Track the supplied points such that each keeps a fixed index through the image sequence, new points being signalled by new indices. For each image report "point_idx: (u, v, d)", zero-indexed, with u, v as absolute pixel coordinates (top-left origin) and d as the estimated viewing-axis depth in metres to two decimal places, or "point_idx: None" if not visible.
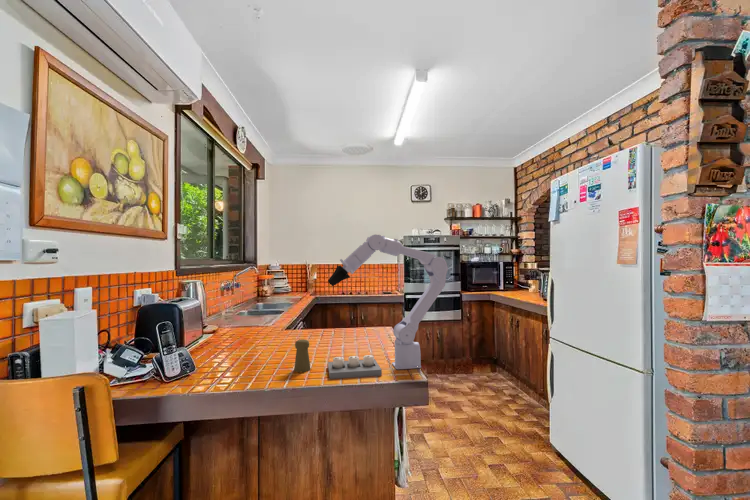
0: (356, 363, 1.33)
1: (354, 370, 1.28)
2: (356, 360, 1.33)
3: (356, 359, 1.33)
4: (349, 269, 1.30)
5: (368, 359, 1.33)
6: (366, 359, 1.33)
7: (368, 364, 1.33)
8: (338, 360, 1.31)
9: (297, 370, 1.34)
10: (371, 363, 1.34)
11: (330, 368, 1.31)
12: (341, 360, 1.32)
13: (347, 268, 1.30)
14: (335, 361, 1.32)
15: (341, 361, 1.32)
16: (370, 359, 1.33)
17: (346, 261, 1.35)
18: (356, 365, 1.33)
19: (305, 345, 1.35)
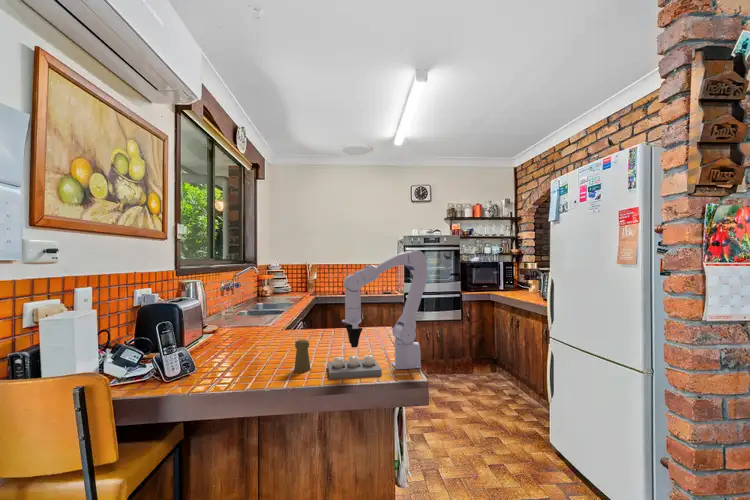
0: (356, 363, 1.33)
1: (354, 370, 1.28)
2: (356, 360, 1.33)
3: (356, 359, 1.33)
4: (356, 325, 1.28)
5: (368, 359, 1.33)
6: (366, 359, 1.33)
7: (368, 364, 1.33)
8: (338, 360, 1.31)
9: (297, 370, 1.34)
10: (371, 363, 1.34)
11: (330, 368, 1.31)
12: (341, 360, 1.32)
13: (354, 326, 1.27)
14: (335, 361, 1.32)
15: (341, 361, 1.32)
16: (370, 359, 1.33)
17: (348, 319, 1.32)
18: (356, 365, 1.33)
19: (305, 345, 1.35)
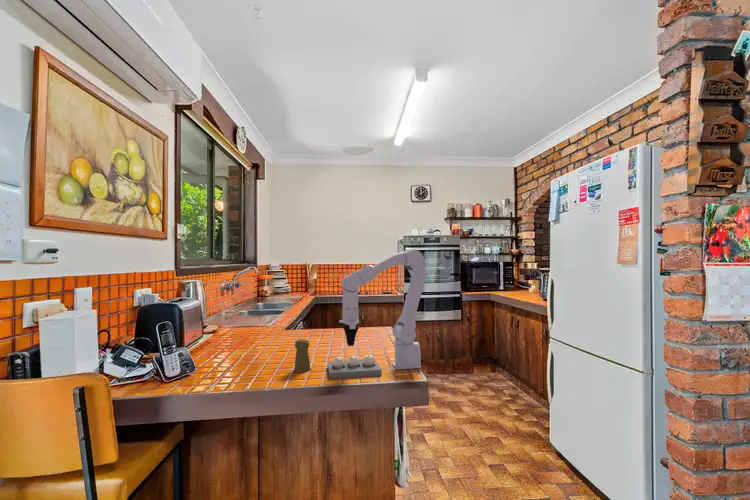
0: (356, 363, 1.33)
1: (354, 370, 1.28)
2: (356, 360, 1.33)
3: (356, 359, 1.33)
4: (353, 325, 1.27)
5: (368, 359, 1.33)
6: (366, 359, 1.33)
7: (368, 364, 1.33)
8: (338, 360, 1.31)
9: (297, 370, 1.34)
10: (371, 363, 1.34)
11: (330, 368, 1.31)
12: (341, 360, 1.32)
13: (351, 326, 1.27)
14: (335, 361, 1.32)
15: (341, 361, 1.32)
16: (370, 359, 1.33)
17: (345, 319, 1.32)
18: (356, 365, 1.33)
19: (305, 345, 1.35)
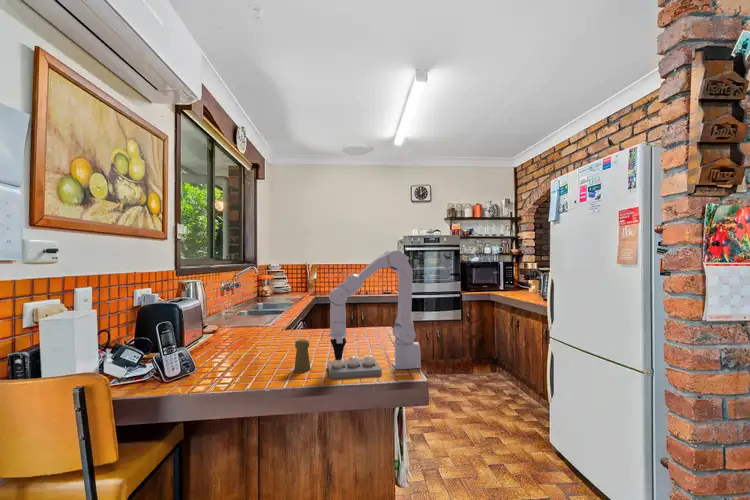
0: (356, 363, 1.33)
1: (354, 370, 1.28)
2: (356, 360, 1.33)
3: (356, 359, 1.33)
4: (340, 340, 1.26)
5: (368, 359, 1.33)
6: (366, 359, 1.33)
7: (368, 364, 1.33)
8: (338, 361, 1.31)
9: (297, 370, 1.34)
10: (371, 363, 1.34)
11: (330, 368, 1.31)
12: (341, 361, 1.32)
13: (338, 341, 1.26)
14: (335, 362, 1.32)
15: (341, 362, 1.32)
16: (370, 359, 1.33)
17: (332, 333, 1.31)
18: (356, 365, 1.33)
19: (305, 345, 1.35)
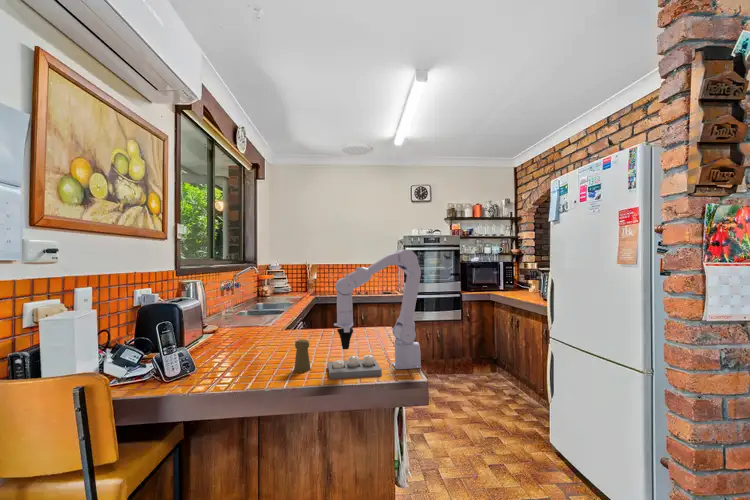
0: (356, 363, 1.33)
1: (354, 370, 1.28)
2: (356, 360, 1.33)
3: (356, 359, 1.33)
4: (348, 329, 1.27)
5: (368, 359, 1.33)
6: (366, 359, 1.33)
7: (368, 364, 1.33)
8: (338, 364, 1.31)
9: (297, 370, 1.34)
10: (371, 363, 1.34)
11: (330, 368, 1.31)
12: (341, 364, 1.32)
13: (346, 330, 1.27)
14: (335, 365, 1.32)
15: (341, 365, 1.32)
16: (370, 359, 1.33)
17: (339, 322, 1.32)
18: (356, 365, 1.33)
19: (305, 345, 1.35)
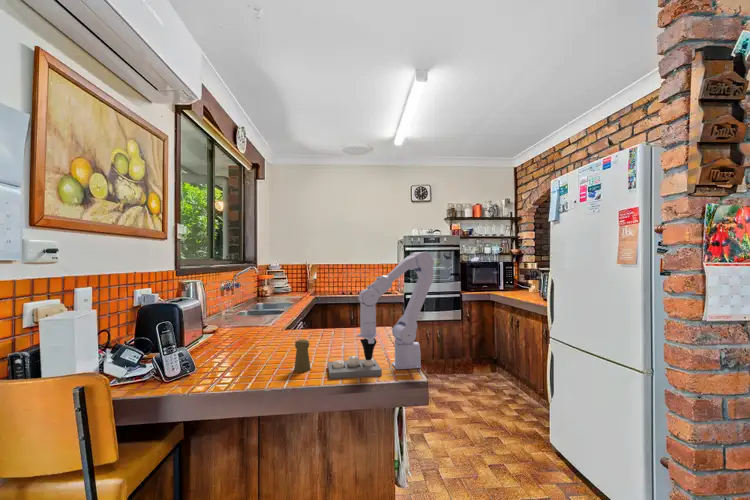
0: (356, 363, 1.33)
1: (354, 370, 1.28)
2: (356, 360, 1.33)
3: (356, 359, 1.33)
4: (372, 340, 1.28)
5: (368, 362, 1.33)
6: (366, 362, 1.33)
7: None
8: (338, 364, 1.31)
9: (297, 370, 1.34)
10: None
11: (330, 368, 1.31)
12: (341, 364, 1.32)
13: (370, 341, 1.28)
14: (335, 365, 1.32)
15: (341, 365, 1.32)
16: (370, 362, 1.33)
17: (363, 333, 1.33)
18: (356, 365, 1.33)
19: (305, 345, 1.35)
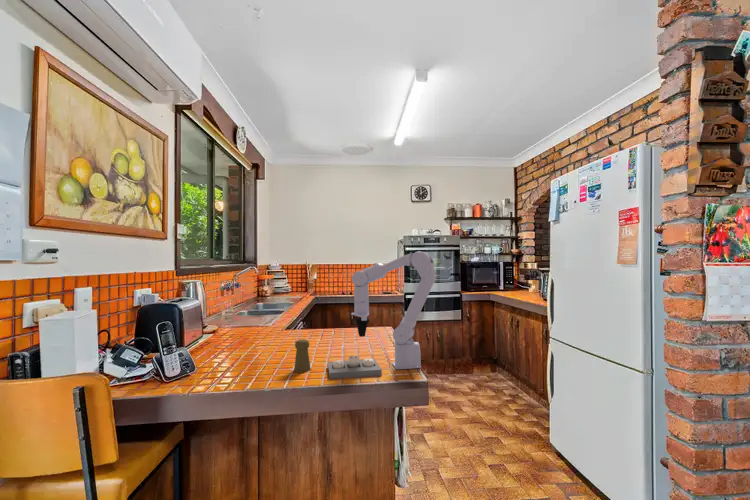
0: (356, 363, 1.33)
1: (354, 370, 1.28)
2: (356, 360, 1.33)
3: (356, 359, 1.33)
4: (365, 317, 1.38)
5: (368, 363, 1.33)
6: (366, 363, 1.33)
7: None
8: (338, 364, 1.31)
9: (297, 370, 1.34)
10: None
11: (330, 368, 1.31)
12: (341, 364, 1.32)
13: (363, 318, 1.38)
14: (335, 365, 1.32)
15: (341, 365, 1.32)
16: (370, 363, 1.33)
17: (357, 312, 1.43)
18: (356, 365, 1.33)
19: (305, 345, 1.35)
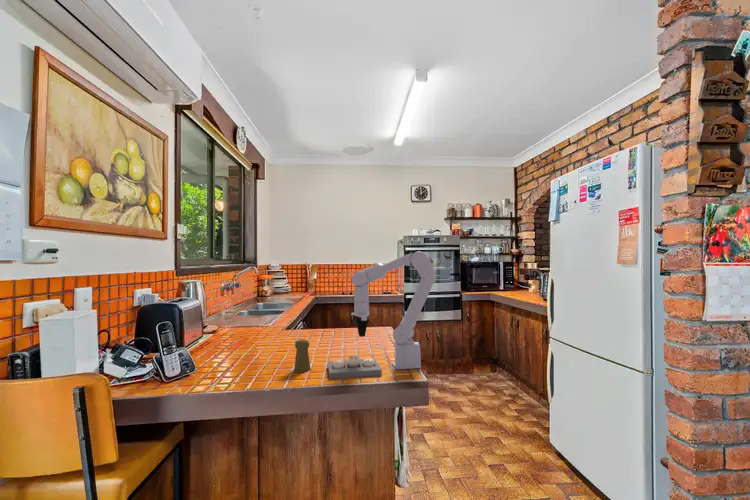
0: (356, 363, 1.33)
1: (354, 370, 1.28)
2: (356, 360, 1.33)
3: (356, 359, 1.33)
4: (365, 317, 1.38)
5: (368, 363, 1.33)
6: (366, 363, 1.33)
7: None
8: (338, 364, 1.31)
9: (297, 370, 1.34)
10: None
11: (330, 368, 1.31)
12: (341, 364, 1.32)
13: (363, 318, 1.38)
14: (335, 365, 1.32)
15: (341, 365, 1.32)
16: (370, 363, 1.33)
17: (357, 312, 1.43)
18: (356, 365, 1.33)
19: (305, 345, 1.35)
